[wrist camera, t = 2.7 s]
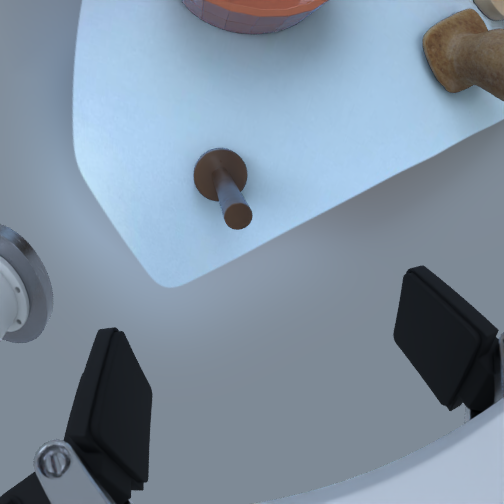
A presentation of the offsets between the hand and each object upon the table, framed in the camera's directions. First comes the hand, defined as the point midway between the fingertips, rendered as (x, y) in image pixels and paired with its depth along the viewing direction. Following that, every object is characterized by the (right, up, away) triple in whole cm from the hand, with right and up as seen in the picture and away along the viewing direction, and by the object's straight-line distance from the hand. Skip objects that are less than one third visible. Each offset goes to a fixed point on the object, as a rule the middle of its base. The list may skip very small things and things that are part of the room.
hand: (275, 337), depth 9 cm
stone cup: (+27, +30, +18) cm, 44 cm away
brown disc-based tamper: (-4, +11, +21) cm, 24 cm away
